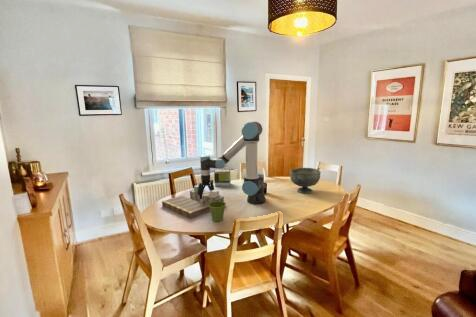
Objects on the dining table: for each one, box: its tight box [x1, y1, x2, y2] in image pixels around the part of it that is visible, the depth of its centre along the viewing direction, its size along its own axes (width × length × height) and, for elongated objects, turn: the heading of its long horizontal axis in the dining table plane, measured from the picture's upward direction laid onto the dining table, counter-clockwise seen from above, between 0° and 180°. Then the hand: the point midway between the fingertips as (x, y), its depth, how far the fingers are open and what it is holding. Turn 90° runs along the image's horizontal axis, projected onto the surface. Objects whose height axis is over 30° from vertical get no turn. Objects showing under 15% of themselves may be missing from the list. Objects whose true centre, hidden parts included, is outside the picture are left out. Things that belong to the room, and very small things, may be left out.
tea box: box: [213, 169, 231, 187], centre depth 249 cm, size 15×10×15 cm, turn 84°
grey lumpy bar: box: [189, 189, 225, 205], centre depth 204 cm, size 32×9×7 cm, turn 48°
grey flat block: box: [161, 195, 211, 220], centre depth 189 cm, size 36×18×4 cm, turn 48°
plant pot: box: [208, 201, 227, 223], centre depth 168 cm, size 12×12×11 cm
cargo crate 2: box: [209, 189, 220, 198], centre depth 196 cm, size 5×5×4 cm
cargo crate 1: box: [193, 184, 199, 192], centre depth 209 cm, size 5×5×4 cm
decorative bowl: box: [289, 167, 321, 195], centre depth 224 cm, size 26×26×20 cm
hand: (206, 200), depth 204 cm, fingers open, 9 cm apart
